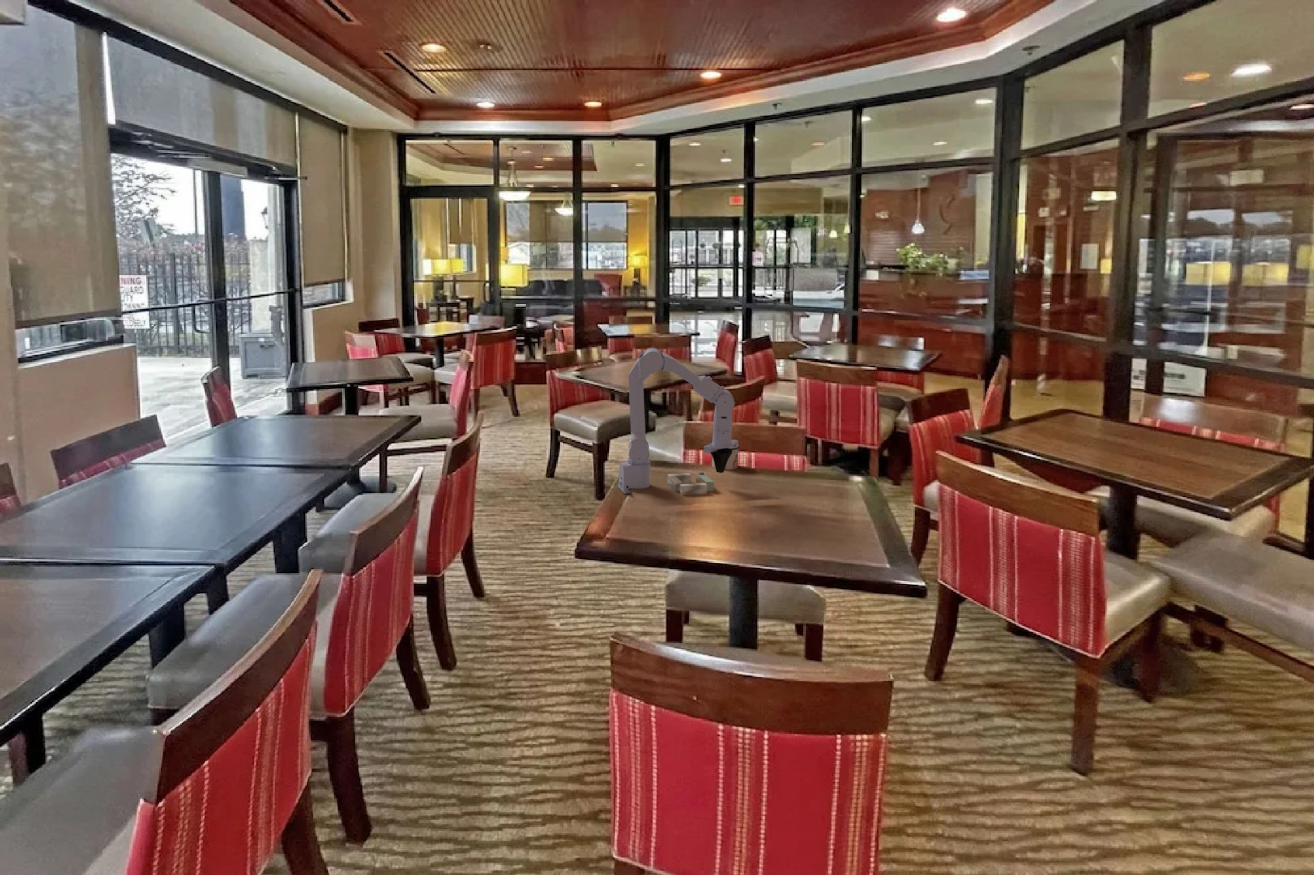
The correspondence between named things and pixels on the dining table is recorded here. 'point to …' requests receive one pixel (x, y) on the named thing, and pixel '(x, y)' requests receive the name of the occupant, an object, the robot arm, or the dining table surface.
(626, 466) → the robot arm
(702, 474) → the green rectangular block
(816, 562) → the dining table surface
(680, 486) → the cream shallow tray
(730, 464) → the teacup with lid
